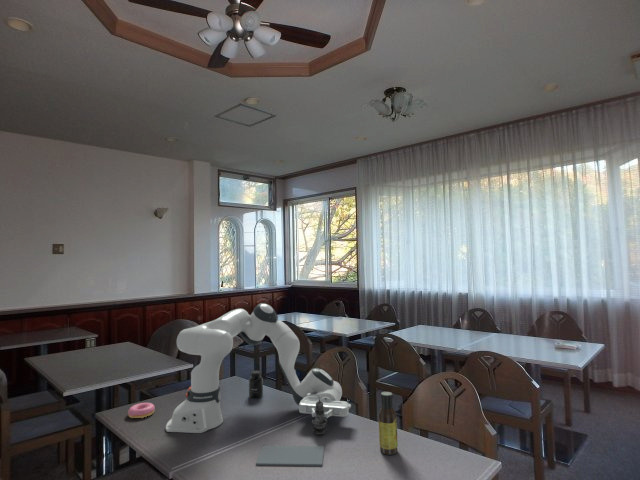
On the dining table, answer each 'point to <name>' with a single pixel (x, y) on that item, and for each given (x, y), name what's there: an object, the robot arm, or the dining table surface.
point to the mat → (291, 455)
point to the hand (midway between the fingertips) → (319, 415)
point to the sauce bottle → (387, 425)
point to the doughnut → (141, 410)
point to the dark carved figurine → (319, 419)
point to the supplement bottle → (255, 385)
